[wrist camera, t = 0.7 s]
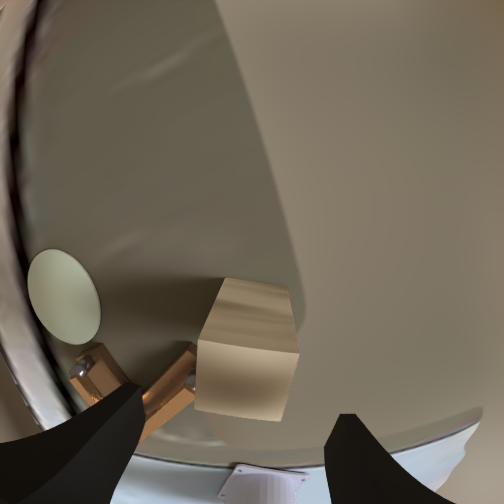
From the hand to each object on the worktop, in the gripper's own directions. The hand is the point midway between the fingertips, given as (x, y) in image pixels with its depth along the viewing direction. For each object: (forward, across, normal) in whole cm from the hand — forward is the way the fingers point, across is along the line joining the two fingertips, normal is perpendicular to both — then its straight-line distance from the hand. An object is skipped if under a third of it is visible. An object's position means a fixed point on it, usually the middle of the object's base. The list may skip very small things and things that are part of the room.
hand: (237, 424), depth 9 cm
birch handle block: (+10, 0, 0) cm, 10 cm away
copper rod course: (+10, +8, +8) cm, 16 cm away
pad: (+10, +16, +2) cm, 19 cm away
